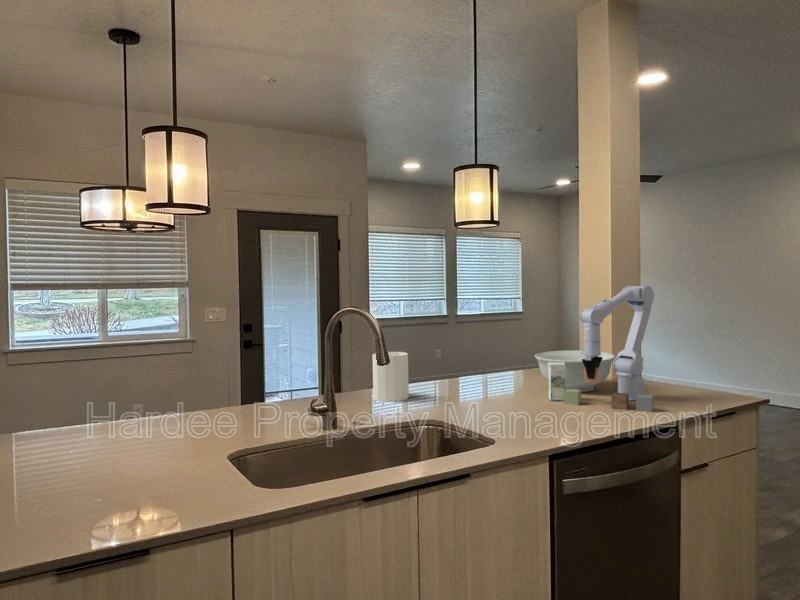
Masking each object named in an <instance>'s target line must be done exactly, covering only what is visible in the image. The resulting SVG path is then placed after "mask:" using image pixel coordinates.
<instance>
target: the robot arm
mask: <svg viewBox="0 0 800 600" xmlns="http://www.w3.org/2000/svg"><path fill="white" fill-rule="evenodd" d="M655 297H656V295H655V292H654V290H653V288H652V287H651V286H650V285H627V286H626V287H623V288H622V290H621V291H620V292H618V293H617V294H616V295H614V296H613V297H611V298H610V299H608V298H602V299H600V301H599V302H598V303H597V304H593V305H592V307H591V308H585V309H583V310H582V312H581V314H580V316H579V319H580V322H581V323H582V329H583V348H584V349H583V351H584V352H581V354H583V355H585V359H582V362H583V364H584V366H585V369H586V373H587V377H588V379H594V377H595V370H596V367H598V368H599V366H600V363H601V361H602V359H603V357H598V356H600V355H601V353H600V352H601V325H602V323H604V319H606V318H607V317H608V316H610V315H611V314H613V313H614V312H615V311H616V308H617V307H618V306H620V305H622V304H624V303H627V304H628V305H629V306H630V307H631V308H632V309H633V310H634V314H633V318H632V321H631V325H630V328H629V332H628V335H627V339H626V341H625V346H624V349H622V350H620V351H619V352H618V353H617V356H615V359H614V360H613V361H612V362H613V363H612V368H613V371H614V372H615V373H616V375H617V393H628V397H629V402H630V401H636V396H637V395H638V394H641V395H646V394H645V391H646V390H645V389H646V387H645V379H644V378H643V376H641V374H642V372H643V369H644V367H643V366H644V365H643V364H644V357H642V355H641V354H640V351H641V346H642V343H643V340H644V337H645V334H646V330H647V326H648V322H649V319H650V315H651V311H652V306H653V303H654V300H655V299H654V298H655Z"/></svg>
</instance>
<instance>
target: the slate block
mask: <svg viewBox="0 0 800 600" xmlns="http://www.w3.org/2000/svg"><path fill="white" fill-rule="evenodd" d="M635 404H636V405H635V410H637V411H636V412H644V411H647V412H646V413H653V411H654V395H652V394H645V395H641V394H638V395H637V396H636V400H635Z"/></svg>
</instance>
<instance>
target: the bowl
mask: <svg viewBox="0 0 800 600" xmlns="http://www.w3.org/2000/svg"><path fill="white" fill-rule="evenodd" d="M581 352H584V350H583V349H582V350H579V349H578V350H577V349H576V350H574V349H573V350H571V349H568V350H553V351H552V350H551V351H544V352H539V353H536V354H534V358H535V359H536V360H537V363H538V367H539V370H540V373H541V374H542V376H543V378H544V379H546V380H547V381H548V362H564V364H565V367H566V368H565V370H566V372H565V377H566V378H565V379H566V381H565V385H566V389H577V390H581V393H586V392H591V391H594V389H595V386H596V385H599V384H600V383H603V381H605V380H606V379H607V378H608V376H609V374H610V372H611V366H612V364H613V363H612V362H614V360H615V359H616V356H615V355H614V354H612V353H609V352H604V351H600V353H601V355H600V356H598V357H603V359H602V361H601V363H600V366H599V368H601V381H600V382H599V383H589V382H584V368H585V366H584V364H583V362H582V359H585V355H583V354H581Z"/></svg>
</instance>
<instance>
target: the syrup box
mask: <svg viewBox="0 0 800 600" xmlns="http://www.w3.org/2000/svg"><path fill="white" fill-rule="evenodd" d="M565 368H566V367H565V364H564V362H548V380H547V383H548V384H547V386H548V387H547V391H548V392H547V393H548V395H547V398H548V399H549V400H550V401H551V402H564V391H565V390H566V385H565V381H566V379H565V378H566V377H565V372H566V370H565Z"/></svg>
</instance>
